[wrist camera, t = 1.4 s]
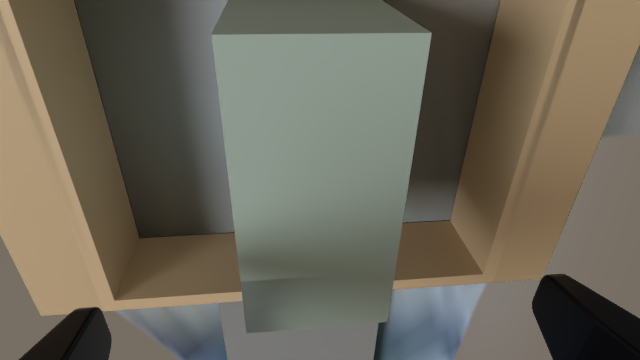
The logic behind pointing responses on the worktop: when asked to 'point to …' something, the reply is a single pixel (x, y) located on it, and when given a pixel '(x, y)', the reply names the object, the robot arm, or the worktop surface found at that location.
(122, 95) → the worktop surface
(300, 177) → the capped box
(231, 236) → the tan rectangular open frame
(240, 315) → the mat
